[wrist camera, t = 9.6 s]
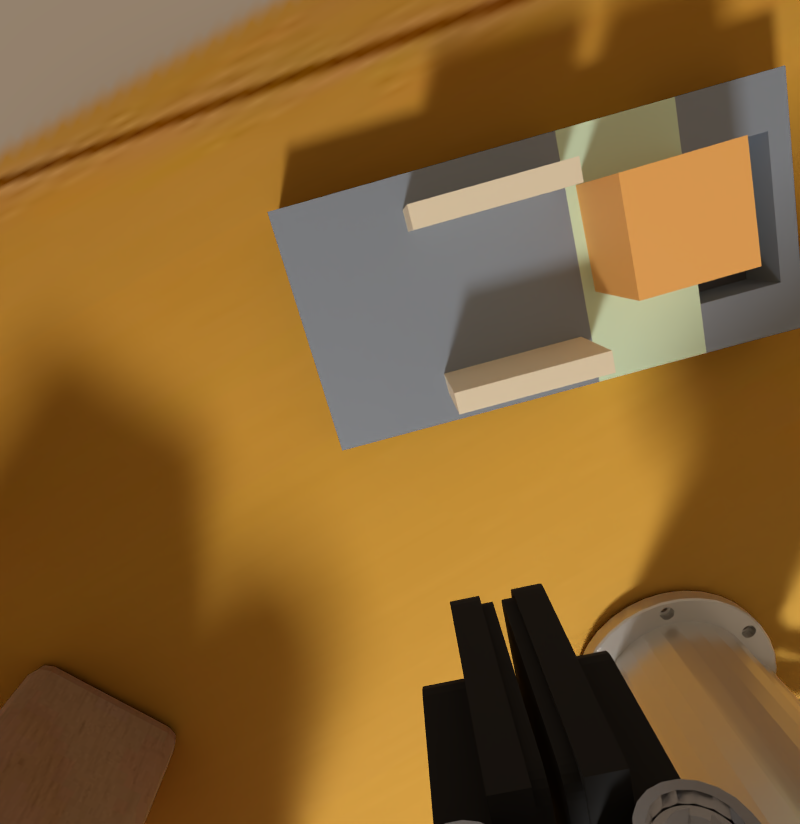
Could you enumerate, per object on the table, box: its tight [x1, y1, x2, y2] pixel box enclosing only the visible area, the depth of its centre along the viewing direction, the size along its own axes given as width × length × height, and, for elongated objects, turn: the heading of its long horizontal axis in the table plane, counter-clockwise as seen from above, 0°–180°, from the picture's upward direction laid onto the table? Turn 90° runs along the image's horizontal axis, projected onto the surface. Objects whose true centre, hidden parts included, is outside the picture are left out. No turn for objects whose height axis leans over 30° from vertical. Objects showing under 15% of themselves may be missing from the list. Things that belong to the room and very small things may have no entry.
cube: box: [576, 135, 761, 301], centre depth 26 cm, size 5×5×5 cm
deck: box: [268, 66, 800, 450], centre depth 28 cm, size 24×12×7 cm, turn 105°
